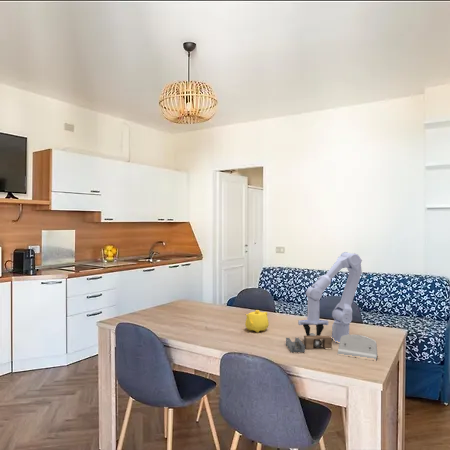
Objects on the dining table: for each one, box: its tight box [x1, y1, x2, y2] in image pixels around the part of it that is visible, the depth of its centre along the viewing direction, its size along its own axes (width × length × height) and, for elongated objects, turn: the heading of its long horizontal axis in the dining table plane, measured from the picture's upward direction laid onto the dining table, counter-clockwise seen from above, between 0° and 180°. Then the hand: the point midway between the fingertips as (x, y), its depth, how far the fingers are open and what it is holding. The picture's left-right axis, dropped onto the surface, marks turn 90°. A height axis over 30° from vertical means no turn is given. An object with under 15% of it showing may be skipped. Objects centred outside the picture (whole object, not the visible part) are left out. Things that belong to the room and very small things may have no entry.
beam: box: [303, 335, 333, 350], centre depth 179 cm, size 4×12×5 cm, turn 93°
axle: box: [310, 332, 322, 348], centre depth 184 cm, size 10×4×4 cm, turn 4°
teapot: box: [245, 309, 270, 334], centre depth 207 cm, size 18×11×11 cm, turn 135°
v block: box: [285, 337, 306, 353], centre depth 178 cm, size 12×6×3 cm, turn 3°
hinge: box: [337, 334, 379, 360], centre depth 170 cm, size 17×5×10 cm, turn 63°
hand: (312, 339), depth 187 cm, fingers closed on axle, 4 cm apart
